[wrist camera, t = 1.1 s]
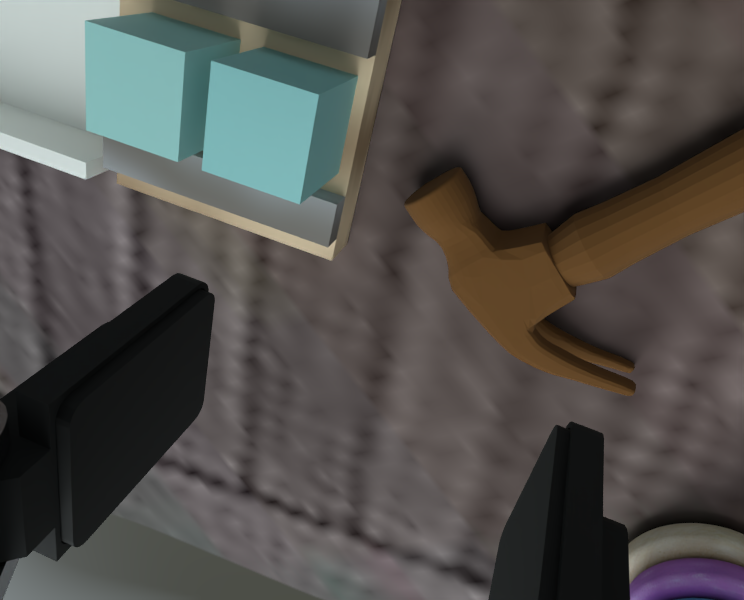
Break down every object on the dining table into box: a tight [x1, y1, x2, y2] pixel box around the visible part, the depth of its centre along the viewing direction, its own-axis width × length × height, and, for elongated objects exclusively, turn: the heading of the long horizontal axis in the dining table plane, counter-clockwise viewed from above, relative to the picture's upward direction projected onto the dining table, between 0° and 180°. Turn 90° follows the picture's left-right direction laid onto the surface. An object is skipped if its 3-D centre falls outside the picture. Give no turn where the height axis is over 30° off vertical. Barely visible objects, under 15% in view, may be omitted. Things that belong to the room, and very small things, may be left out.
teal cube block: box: [202, 47, 358, 204], centre depth 25 cm, size 4×4×4 cm
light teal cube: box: [85, 12, 241, 162], centre depth 25 cm, size 4×4×4 cm
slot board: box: [103, 0, 402, 261], centre depth 27 cm, size 12×11×3 cm
